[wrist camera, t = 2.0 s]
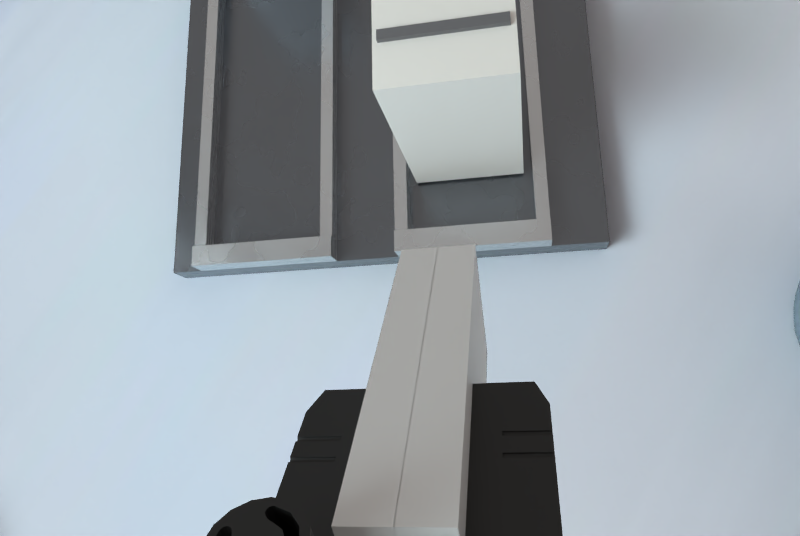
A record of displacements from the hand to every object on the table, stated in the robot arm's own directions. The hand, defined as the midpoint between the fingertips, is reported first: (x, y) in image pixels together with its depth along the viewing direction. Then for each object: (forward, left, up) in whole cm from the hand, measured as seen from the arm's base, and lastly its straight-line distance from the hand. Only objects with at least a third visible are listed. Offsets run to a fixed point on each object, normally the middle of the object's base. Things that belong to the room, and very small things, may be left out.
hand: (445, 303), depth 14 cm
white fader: (-6, +9, -15) cm, 19 cm away
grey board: (-14, +12, -17) cm, 25 cm away
